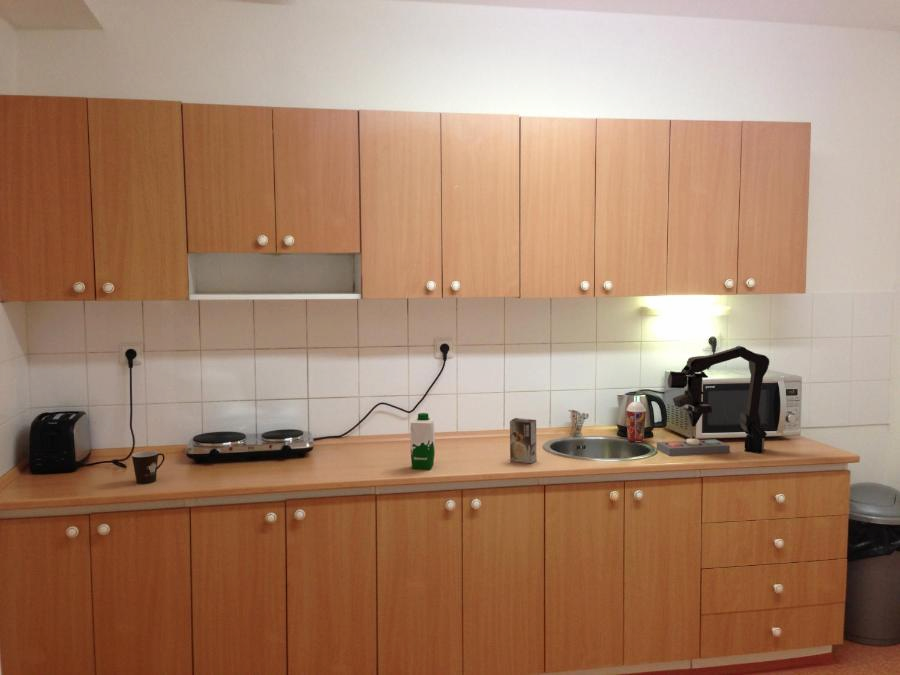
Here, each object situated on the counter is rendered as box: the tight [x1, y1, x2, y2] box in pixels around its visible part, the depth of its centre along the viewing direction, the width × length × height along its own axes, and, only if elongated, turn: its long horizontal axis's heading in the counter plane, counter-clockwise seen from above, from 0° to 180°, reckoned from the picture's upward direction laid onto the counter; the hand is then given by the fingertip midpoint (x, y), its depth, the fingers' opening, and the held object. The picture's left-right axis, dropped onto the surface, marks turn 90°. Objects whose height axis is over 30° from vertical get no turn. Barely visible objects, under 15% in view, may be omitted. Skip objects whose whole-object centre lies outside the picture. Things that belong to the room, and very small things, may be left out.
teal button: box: [705, 441, 718, 445], centre depth 289 cm, size 5×5×2 cm
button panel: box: [656, 438, 731, 457], centre depth 288 cm, size 11×26×3 cm, turn 99°
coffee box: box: [509, 417, 538, 464], centre depth 274 cm, size 9×6×16 cm
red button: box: [668, 441, 681, 447], centre depth 286 cm, size 5×5×2 cm
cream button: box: [685, 438, 700, 446], centre depth 287 cm, size 5×5×2 cm
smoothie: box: [625, 394, 647, 442], centre depth 305 cm, size 8×8×20 cm
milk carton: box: [409, 412, 436, 471], centre depth 266 cm, size 9×9×20 cm
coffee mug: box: [131, 450, 166, 485], centre depth 251 cm, size 12×9×10 cm
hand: (693, 426), depth 287 cm, fingers closed
